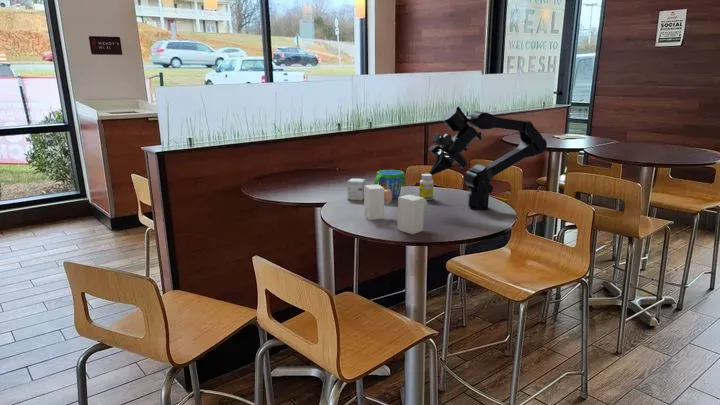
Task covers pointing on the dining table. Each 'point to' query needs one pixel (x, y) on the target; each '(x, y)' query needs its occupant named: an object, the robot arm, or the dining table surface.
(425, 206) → the sage button
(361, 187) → the skincare box
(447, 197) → the dining table surface
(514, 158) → the robot arm
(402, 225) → the sage button housing
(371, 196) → the white tall block
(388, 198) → the terracotta button
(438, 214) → the dining table surface
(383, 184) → the snack cup
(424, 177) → the supplement bottle
